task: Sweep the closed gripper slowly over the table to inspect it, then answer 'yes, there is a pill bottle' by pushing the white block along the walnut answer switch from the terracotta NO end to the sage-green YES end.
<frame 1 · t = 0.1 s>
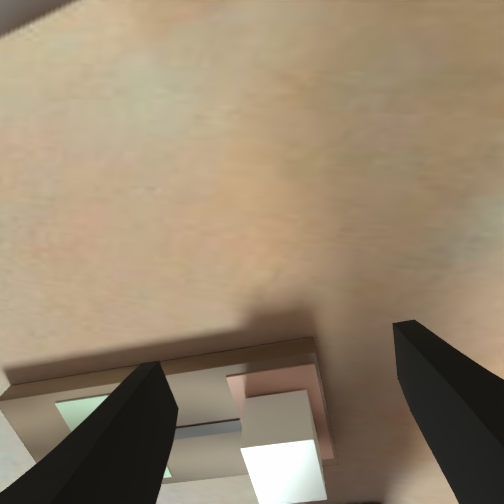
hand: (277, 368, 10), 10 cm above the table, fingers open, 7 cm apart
answer switch: (175, 415, 25), on the table
white block: (284, 446, 21), point 4 cm above the table, slide at 0.0 cm
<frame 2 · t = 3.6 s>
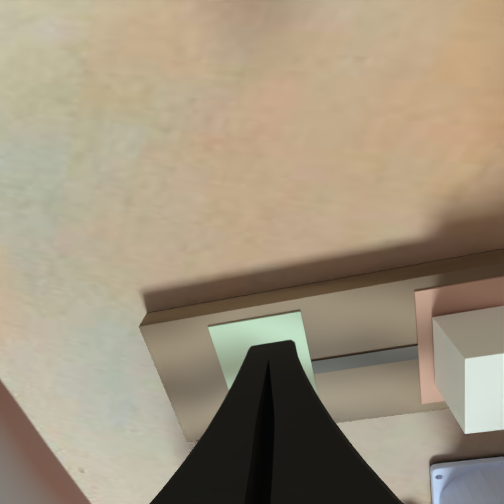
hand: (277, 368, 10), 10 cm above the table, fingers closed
answer switch: (327, 348, 23), on the table
white block: (486, 368, 18), point 4 cm above the table, slide at 0.0 cm
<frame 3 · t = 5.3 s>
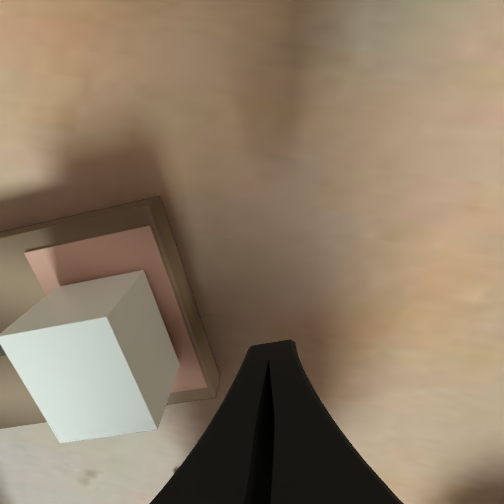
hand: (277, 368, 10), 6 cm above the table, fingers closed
white block: (103, 353, 14), point 4 cm above the table, slide at 0.0 cm
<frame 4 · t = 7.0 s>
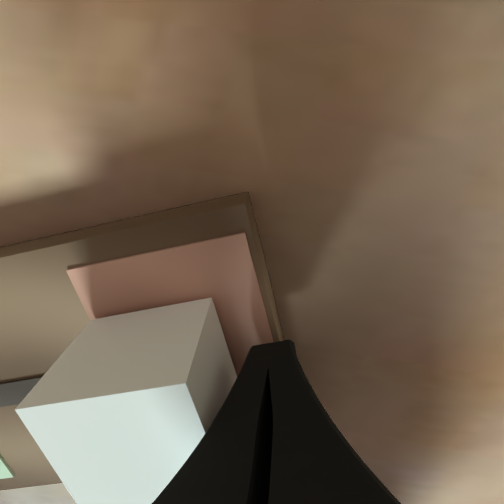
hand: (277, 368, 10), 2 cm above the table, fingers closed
answer switch: (16, 367, 14), on the table
white block: (159, 414, 10), point 4 cm above the table, slide at 0.6 cm, touching gripper
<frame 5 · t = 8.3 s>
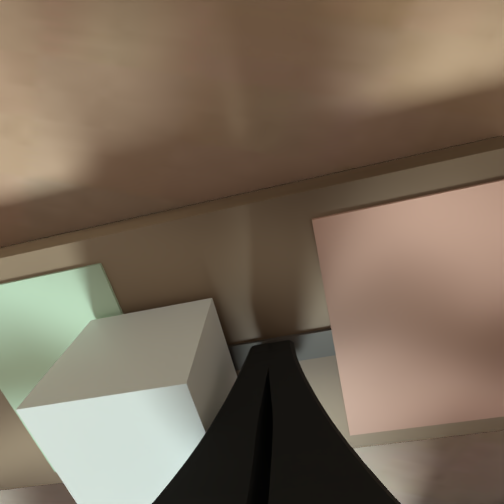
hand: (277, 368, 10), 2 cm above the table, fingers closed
answer switch: (190, 338, 13), on the table
white block: (159, 415, 10), point 4 cm above the table, slide at 8.1 cm, touching gripper
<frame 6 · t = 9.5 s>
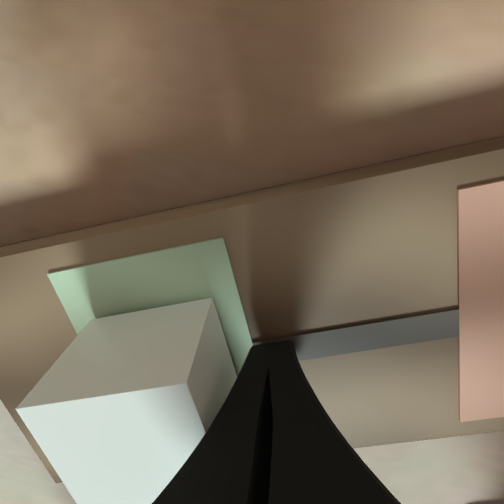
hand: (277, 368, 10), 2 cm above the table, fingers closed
answer switch: (288, 321, 13), on the table
white block: (159, 414, 10), point 4 cm above the table, slide at 12.0 cm, touching gripper
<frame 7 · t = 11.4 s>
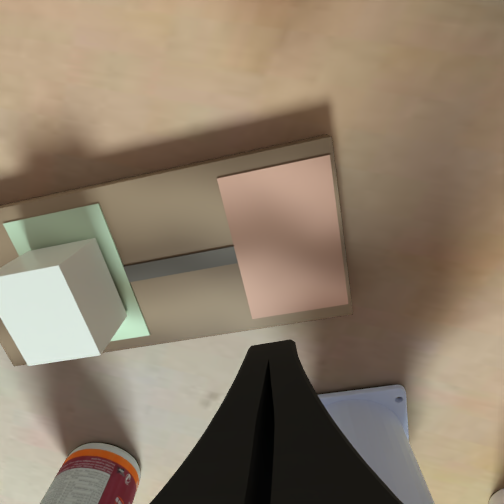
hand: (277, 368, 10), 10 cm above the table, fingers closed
pill bottle: (106, 463, 28), on the table
answer switch: (154, 259, 21), on the table
white block: (62, 300, 18), point 4 cm above the table, slide at 12.0 cm
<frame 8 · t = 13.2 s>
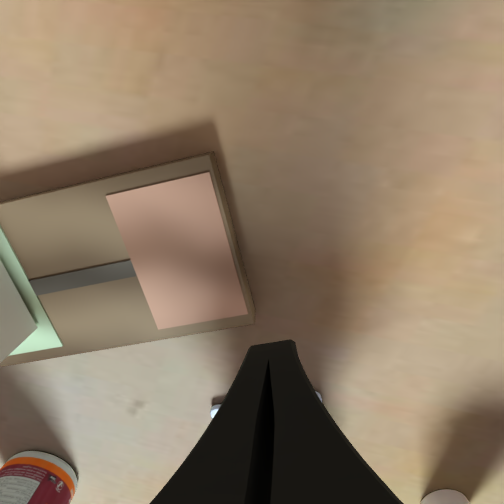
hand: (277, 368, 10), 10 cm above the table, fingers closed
lidded paper cup: (442, 501, 28), on the table
pill bottle: (45, 470, 29), on the table
answer switch: (65, 272, 21), on the table
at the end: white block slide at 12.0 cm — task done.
